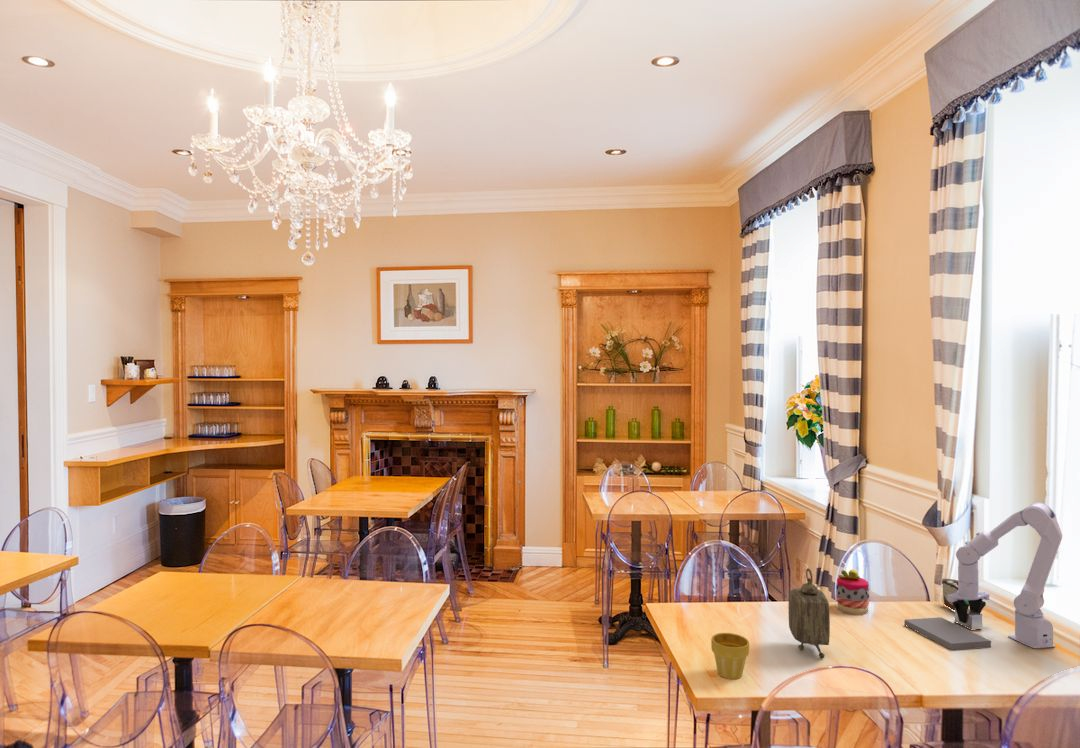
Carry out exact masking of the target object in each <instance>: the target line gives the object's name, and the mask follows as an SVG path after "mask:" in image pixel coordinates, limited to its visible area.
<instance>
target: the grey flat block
mask: <svg viewBox="0 0 1080 748" xmlns="http://www.w3.org/2000/svg"><path fill="white" fill-rule="evenodd" d="M905 625H907V626H908V627H910V628H912V629H914V630H916V631H918V632H919V633H918V632H917V633H918V634H920V633H921V634H920V635H922V634H923V635H924V637H925V636H927V637H928V638H927V637H926V638H927V639H929V638H930V640H931V639H932V640H931V641H933V640H934V642H935V641H936V642H935V643H937V642H938V643H937V644H939V645H941V646H943V647H944V646H945V647H944V648H947V649H949V650H950V651H957V650H958V651H959V650H972V649H982V648H983V649H984V648H985V649H986V648H992V641H991V640H990V639H988V638H985V636H982V635H980V634H977V633H976V632H973V631H972V630H970V629H969V630H968V628H966V627H964V626H962V625H959V624H957V623H955V622H952V621H951V620H947V619H946V618H943V617H940V616H939V617H927V618H926V617H925V618H924V617H923V618H912V619H911V618H909V619H904V626H905ZM908 627H907V628H908ZM910 628H909V629H910ZM912 629H911V630H912ZM914 630H913V631H914ZM916 631H915V632H916ZM923 635H922V636H923Z"/></svg>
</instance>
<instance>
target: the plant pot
mask: <svg viewBox="0 0 1080 748" xmlns="http://www.w3.org/2000/svg"><path fill="white" fill-rule="evenodd" d="M710 640H711V643H710V644H711V651H712V652H713V655H714V659H715V660H714V661H715V665H716V671H717V674H718V675H719V676H720V677H721V678H724V679H728V680H739V679H741V678H742V677H743V673H744V668H745V664H746V659H747V657H749V655H750V640H749V639H748V638H746V637H745V636H742V635H740V634H736V633H733V632H719V633H718V632H717V633H715V634H713V635H712V637H711V639H710Z"/></svg>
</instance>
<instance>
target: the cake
mask: <svg viewBox="0 0 1080 748" xmlns="http://www.w3.org/2000/svg"><path fill="white" fill-rule="evenodd" d="M837 576H838V577H837V578H836V579H837V580H836V582H837V583H836V584H837V585H836V590H837V594H836V597H837V599H836V602H837V610H838V611H840V612H842V613H844V614H848V615H853V616H864V615H863V614H866V613H867V612H868V613H869V604H870V600H869V597H870V595H869V581H867V580H866V579H864V578H862V577H860V575H859V572H858V571H857V570H855V569H850V570H849V571H848V572H847V570H845V569H842V570H841V574H838V575H837ZM868 613H867V614H868ZM867 614H866V615H867Z"/></svg>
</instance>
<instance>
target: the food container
mask: <svg viewBox="0 0 1080 748" xmlns="http://www.w3.org/2000/svg"><path fill="white" fill-rule="evenodd" d="M941 585H942V592H943V593H942V597H943V605H944V604H945V605H946V606H948V607H950V608H951V609H953V610H955V607H954V605H953V604H952V602H950V601H948V600H947V595H950V594H954V593H957V591H958V579H953V578H944V577H943V578H942V579H941ZM964 602H965V603H966V604H969V603H968V600H967V601H964ZM968 609H970V607H968Z"/></svg>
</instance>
